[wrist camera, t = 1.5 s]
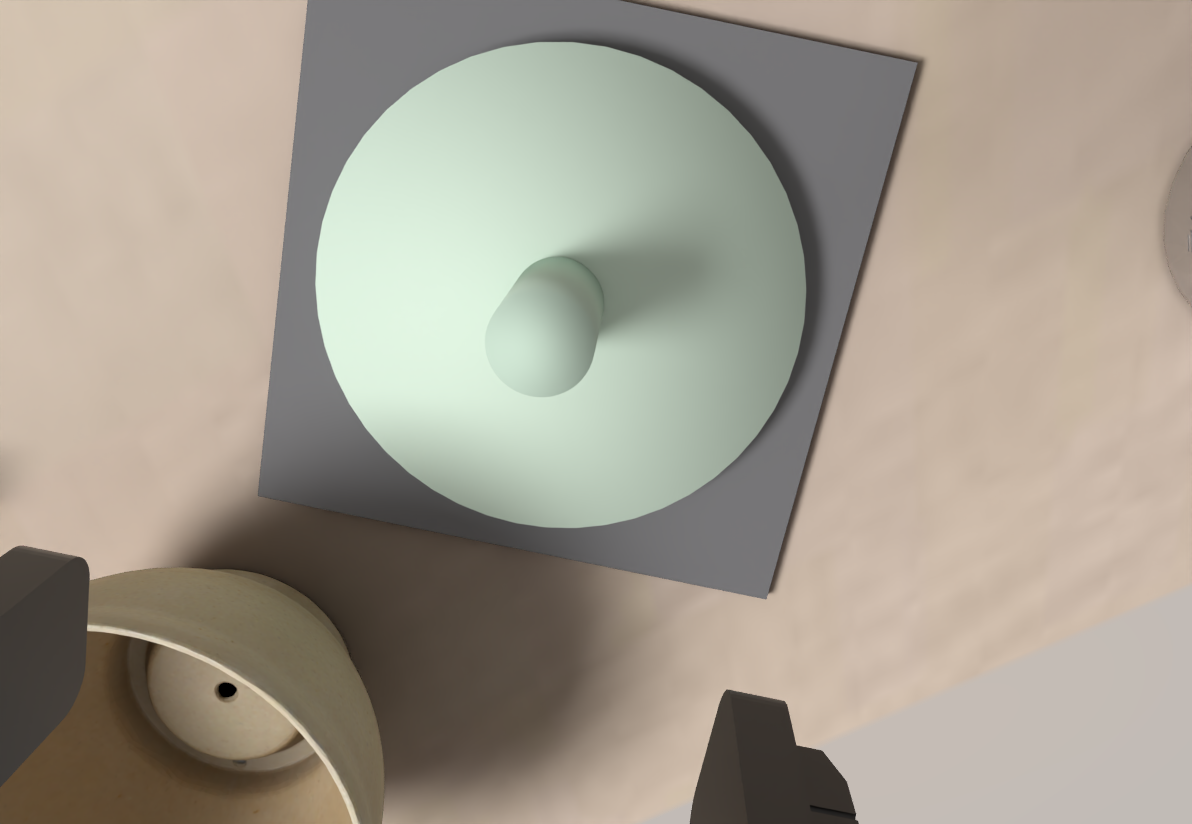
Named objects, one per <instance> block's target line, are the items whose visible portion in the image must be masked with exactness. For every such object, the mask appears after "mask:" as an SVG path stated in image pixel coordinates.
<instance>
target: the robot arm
mask: <svg viewBox="0 0 1192 824" xmlns="http://www.w3.org/2000/svg"><path fill="white" fill-rule="evenodd" d="M1164 245H1165V250H1166V256H1167V261H1168V267H1169V269H1170V271H1171V274H1172V276H1173V278H1174V280H1175V283H1176V285H1177V287H1178V289H1179V291H1180V293H1181V294H1182V295H1183V296H1184V298H1185V299H1186V300H1187V302H1188V303H1189V304H1190V305H1191V307H1192V147H1191V148H1190V150H1189V151H1188V152H1187V154H1186V156H1185V158H1184V160H1183V162H1182V164H1181V166H1180V168H1179V170H1178V172H1177V174H1176V176H1175V178H1174V181H1173V183H1172V187H1171V190H1170V194H1169V198H1168V202H1167V206H1166V210H1165V222H1164ZM89 580H90V578H89V567H88V564H87V562H86V561H85V560H84V559H83V558H81V557H77V556H72V555H67V554H62V553H57V552H52V551H47V550H42V549H37V548H32V547H27V546H17V547H15V548H13V549H11V550H10V551H8V552H7V553H6V554H4V555H3V556H1V557H0V787H1V786H2V785H3V784H4V783H5V782H6V781H7V780H8V779H9V777H10V776H11V775H12V774H13V773H14V772H15V771H16V770H17V769H18V768H19V767H20V766H21V765H22V763H23V762H24V761H25V760H26V759H27V758H28V757H29V756H30V755H31V754H32V753H33V752H34V751H35V749H36V748H37V747H38V746H39V745H40V744H41V743H42V742H43V741H44V740H45V739H46V738H47V737H48V735H49V734H50V733H51V732H52V731H53V730H54V729H55V728H56V727H57V726H58V725H59V724H60V722H61V721H62V720H63V719H64V718H65V717H66V715H67V714H68V713H69V711H70V710H71V708H72V706H73V704H74V702H75V700H76V698H77V696H78V693H79V691H80V688H81V685H82V682H83V678H84V673H85V665H86V645H87V623H88V601H89ZM855 816H856V813H855V809H854V805H853V802H852V798H851V795H850V792H849V788H848V785H847V782H846V780H845V779H844V778H843V776H842V775H841V774H840V773H839V771H838V770H837V769H836V768H835V766H834V765H833V764H832V762H831V761H830V760H829V759H828V757H827V756H826V755H825V754H824V752H823V751H821V750H816V749H812V748H807V747H802V746H797V745H796V742H795V738H794V733H793V729H792V724H791V720H790V715H789V711H788V707H787V704H786V702H785V701H781V700H777V699H772V698H767V697H762V696H757V695H752V694H747V693H742V692H737V691H732V690H726V691H725V692H724V694H723V696H722V698H721V701H720V704H719V707H718V711H717V714H716V718H715V722H714V725H713V729H712V732H711V736H710V740H709V743H708V747H707V750H706V754H705V758H704V761H703V765H702V769H701V772H700V776H699V779H698V783H697V787H696V791H695V795H694V799H693V805H692V810H691V818H690V824H859V823H858V821H857V820H855Z"/></svg>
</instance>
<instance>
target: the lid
mask: <svg viewBox="0 0 1192 824" xmlns="http://www.w3.org/2000/svg"><path fill="white" fill-rule="evenodd" d="M315 286H316V298H317V310H318V318H319V323H320V327H321V332H322V336H323V341H324V346H325V349H326V352H327V354H328V357H329V360H330V363H331V366H332V368H333V371H334V374H335V377H336V379H337V381H338V383H339V385H340V387H341V389H342V390H343V392H344V394H345V396H346V398H347V400H348V402H349V404H350V406H351V407H352V409H353V410H354V412H355V413H356V415H357V416H358V418H359V419H360V421H361V422H362V424H363V425H364V427H365V428H366V429H367V431H368V432H369V433H370V434H371V435H372V436H373V438H374V439H375V440H376V441H377V442H378V443H379V444H380V446H381V447H382V448H383V449H384V450H385V451H386V452H387V453H388V454H389V455H390V456H391V457H392V458H393V459H394V460H395V461H396V462H398V463H399V464H400V465H401V466H402V467H403V468H404V469H405V470H406V471H407V472H409V473H410V474H411V475H413V476H414V477H416V478H417V479H418V480H420V481H421V482H423V483H424V484H425V485H427V486H428V487H430V488H431V489H432V490H434V491H436V492H438V493H440V494H441V495H443V496H445V497H447V498H449V499H451V500H452V501H454V502H456V503H458V504H460V505H462V506H465V507H467V508H470V509H472V510H475V511H477V512H480V513H482V514H485V515H487V516H491V517H495V518H499V519H502V520H506V521H510V522H514V523H518V524H525V525H532V526H539V527H550V528H581V527H591V526H601V525H608V524H612V523H617V522H621V521H626V520H630V519H635V518H637V517H640V516H643V515H646V514H649V513H651V512H654V511H657V510H660V509H662V508H664V507H666V506H668V505H670V504H672V503H674V502H676V501H678V500H680V499H682V498H684V497H686V496H688V495H690V494H691V493H693V492H694V491H696V490H697V489H699V488H700V487H702V486H703V485H705V484H706V483H708V482H709V481H711V480H712V479H714V478H715V477H716V476H717V475H718V474H719V473H721V472H722V471H723V470H724V469H725V468H726V467H727V466H729V465H730V464H731V463H732V462H733V461H734V460H735V459H737V458H738V456H739V455H740V454H741V453H742V452H743V451H744V450H745V448H746V447H747V446H748V445H749V444H750V443H751V442H752V440H753V439H754V438H755V437H756V436H757V435H758V433H759V432H760V430H761V429H762V427H763V426H764V424H765V423H766V421H767V420H768V418H769V417H770V415H771V414H772V412H773V411H774V409H775V407H776V405H777V403H778V401H779V399H780V397H781V395H782V393H783V391H784V389H785V387H786V385H787V383H788V381H789V378H790V375H791V372H792V369H793V366H794V363H795V360H796V357H797V354H798V351H799V346H800V341H801V336H802V331H803V326H804V319H805V303H806V277H805V263H804V254H803V249H802V244H801V240H800V235H799V230H798V225H797V222H796V219H795V216H794V214H793V211H792V208H791V205H790V202H789V199H788V197H787V194H786V192H785V190H784V188H783V186H782V184H781V182H780V180H779V178H778V176H777V174H776V172H775V170H774V168H773V166H772V164H771V163H770V161H769V160H768V158H767V157H766V156H765V154H764V153H763V151H762V150H761V148H760V147H759V146H758V144H757V143H756V141H755V140H754V138H753V137H752V136H751V134H750V133H749V132H748V131H747V130H746V129H745V128H744V127H743V126H742V125H741V124H740V123H739V121H738V120H737V119H736V118H735V117H734V116H733V115H732V114H731V113H730V112H729V111H728V110H727V109H726V108H725V107H724V106H722V105H721V104H720V103H719V102H717V101H716V100H715V99H714V98H713V97H711V96H710V95H709V94H708V93H706V92H705V91H704V90H703V89H702V88H700V87H698V86H697V85H695V84H694V83H692V82H690V81H689V80H687V79H685V78H684V77H682V76H681V75H679V74H677V73H676V72H674V71H672V70H670V69H668V68H666V67H663V66H661V65H659V64H657V63H654V62H652V61H650V60H648V59H645V58H643V57H641V56H637V55H634V54H630V53H627V52H623V51H620V50H616V49H613V48H609V47H605V46H597V45H590V44H583V43H576V42H535V43H528V44H521V45H514V46H507V47H502V48H499V49H495V50H492V51H488V52H485V53H481V54H478V55H475V56H471V57H469V58H467V59H464V60H462V61H460V62H458V63H456V64H453V65H451V66H449V67H447V68H444V69H442V70H440V71H438V72H437V73H435V74H434V75H432V76H431V77H429V78H427V79H426V80H424V81H423V82H421V83H420V84H418V85H416V86H415V87H413V88H412V89H410V90H409V91H408V92H407V93H406V94H405V95H403V96H402V97H401V98H400V99H399V100H398V101H396V102H395V103H394V104H393V105H392V106H390V107H389V108H388V109H387V110H386V111H385V112H384V113H383V114H382V115H381V117H380V118H379V119H378V120H377V121H376V122H375V123H374V125H373V126H372V127H371V128H370V129H369V130H368V131H367V132H366V134H365V135H364V136H363V138H362V139H361V141H360V142H359V144H358V145H357V147H356V148H355V150H354V151H353V153H352V154H351V156H350V157H349V159H348V160H347V162H346V164H345V166H344V168H343V170H342V172H341V174H340V176H339V178H338V180H337V182H336V184H335V187H334V189H333V191H332V194H331V197H330V200H329V203H328V206H327V209H326V212H325V215H324V218H323V221H322V227H321V232H320V238H319V244H318V249H317V260H316V282H315Z"/></svg>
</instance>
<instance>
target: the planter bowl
mask: <svg viewBox="0 0 1192 824" xmlns="http://www.w3.org/2000/svg"><path fill="white" fill-rule="evenodd" d="M224 682H227V683H231V684H233V685H234V686H235V687H236V688H237V691H236V693H235V694H234V695H233V696H231V697H227V698H226V697H222V696H221V695H220V693H219V690H218V689H219V685H220V684H221V683H224ZM383 806H384V762H383V752H382V744H381V739H380V734H379V728H378V724H377V720H376V717H375V713H374V710H373V707H372V704H371V701H370V698H369V696H368V694H367V691H366V689H365V686H364V684H363V682H362V680H361V678H360V676H359V674H358V672H357V670H356V668H355V666H354V664H353V662H352V661H351V659H350V656H349V653H348V650H347V648H346V646H345V643H344V641H343V639H342V637H341V635H340V633H339V632H338V630H337V629H336V627H335V626H334V625H333V623H332V622H331V621H330V619H329V618H328V617H327V615H326V614H325V613H324V612H323V611H322V610H321V609H320V608H319V607H318V606H317V605H316V604H314V603H313V602H312V601H311V600H310V599H309V598H307V597H306V596H305V595H303V594H301V593H300V592H298V591H297V590H295V589H294V588H292V587H290V586H288V585H286V584H284V583H282V582H280V581H278V580H276V579H273V578H270V577H268V576H265V575H261V574H258V573H253V572H247V571H242V570H232V569H216V570H207V569H199V568H153V569H144V570H136V571H130V572H124V573H119V574H115V575H110V576H106V577H102V578H98V579H94V580H90V581H89V601H88V623H87V645H86V665H85V673H84V678H83V682H82V685H81V688H80V691H79V693H78V696H77V698H76V700H75V702H74V704H73V706H72V708H71V710H70V711H69V713H68V714H67V715H66V717H65V718H64V719H63V720H62V721H61V722H60V724H59V725H58V726H57V727H56V728H55V729H54V730H53V731H52V732H51V733H50V734H49V735H48V737H47V738H46V739H45V740H44V741H43V742H42V743H41V744H40V745H39V746H38V747H37V748H36V749H35V751H34V752H33V753H32V754H31V755H30V756H29V757H28V758H27V759H26V760H25V761H24V762H23V763H22V765H21V766H20V767H19V768H18V769H17V770H16V771H15V772H14V773H13V774H12V775H11V776H10V777H9V779H8V780H7V781H6V782H5V783H4V784H3V785H2V786H1V787H0V824H382V817H383Z"/></svg>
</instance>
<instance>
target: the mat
mask: <svg viewBox="0 0 1192 824" xmlns="http://www.w3.org/2000/svg"><path fill="white" fill-rule="evenodd" d="M535 42H576V43H583V44H590V45H597V46H605V47H609V48H613V49H616V50H620V51H623V52H627V53H630V54H634V55H637V56H641V57H643V58H645V59H648V60H650V61H652V62H654V63H657V64H659V65H661V66H663V67H666V68H668V69H670V70H672V71H674V72H676V73H677V74H679V75H681V76H682V77H684V78H685V79H687V80H689V81H690V82H692V83H694V84H695V85H697V86H698V87H700V88H702V89H703V90H704V91H705V92H706V93H708V94H709V95H710V96H711V97H713V98H714V99H715V100H716V101H717V102H719V103H720V104H721V105H722V106H724V107H725V108H726V109H727V110H728V111H729V112H730V113H731V114H732V115H733V116H734V117H735V118H736V119H737V120H738V121H739V123H740V124H741V125H742V126H743V127H744V128H745V129H746V130H747V131H748V132H749V133H750V134H751V136H752V137H753V138H754V140H755V141H756V143H757V144H758V146H759V147H760V148H761V150H762V151H763V153H764V154H765V156H766V157H767V158H768V160H769V161H770V163H771V164H772V166H773V168H774V170H775V172H776V174H777V176H778V178H779V180H780V182H781V184H782V186H783V188H784V190H785V192H786V194H787V197H788V199H789V202H790V205H791V208H792V211H793V214H794V216H795V219H796V222H797V225H798V230H799V235H800V240H801V244H802V249H803V254H804V263H805V277H806V303H805V319H804V326H803V331H802V336H801V341H800V346H799V351H798V354H797V357H796V360H795V363H794V366H793V369H792V372H791V375H790V378H789V381H788V383H787V385H786V387H785V389H784V391H783V393H782V395H781V397H780V399H779V401H778V403H777V405H776V407H775V409H774V411H773V412H772V414H771V415H770V417H769V418H768V420H767V421H766V423H765V424H764V426H763V427H762V429H761V430H760V432H759V433H758V435H757V436H756V437H755V438H754V439H753V440H752V442H751V443H750V444H749V445H748V446H747V447H746V448H745V450H744V451H743V452H742V453H741V454H740V455H739V456H738V458H737V459H735V460H734V461H733V462H732V463H731V464H730V465H729V466H727V467H726V468H725V469H724V470H723V471H722V472H721V473H719V474H718V475H717V476H716V477H715V478H714V479H712V480H711V481H709V482H708V483H706V484H705V485H703V486H702V487H700V488H699V489H697V490H696V491H694V492H693V493H691V494H690V495H688V496H686V497H684V498H682V499H680V500H678V501H676V502H674V503H672V504H670V505H668V506H666V507H664V508H662V509H660V510H657V511H654V512H651V513H649V514H646V515H643V516H640V517H637V518H635V519H630V520H626V521H621V522H617V523H612V524H608V525H601V526H591V527H581V528H550V527H539V526H532V525H525V524H518V523H514V522H510V521H506V520H502V519H499V518H495V517H491V516H487V515H485V514H482V513H480V512H477V511H475V510H472V509H470V508H467V507H465V506H462V505H460V504H458V503H456V502H454V501H452V500H451V499H449V498H447V497H445V496H443V495H441V494H440V493H438V492H436V491H434V490H432V489H431V488H430V487H428V486H427V485H425V484H424V483H423V482H421V481H420V480H418V479H417V478H416V477H414V476H413V475H411V474H410V473H409V472H407V471H406V470H405V469H404V468H403V467H402V466H401V465H400V464H399V463H398V462H396V461H395V460H394V459H393V458H392V457H391V456H390V455H389V454H388V453H387V452H386V451H385V450H384V449H383V448H382V447H381V446H380V444H379V443H378V442H377V441H376V440H375V439H374V438H373V436H372V435H371V434H370V433H369V432H368V431H367V429H366V428H365V427H364V425H363V424H362V422H361V421H360V419H359V418H358V416H357V415H356V413H355V412H354V410H353V409H352V407H351V406H350V404H349V402H348V400H347V398H346V396H345V394H344V392H343V390H342V389H341V387H340V385H339V383H338V381H337V379H336V377H335V374H334V371H333V368H332V366H331V363H330V360H329V357H328V354H327V352H326V349H325V346H324V341H323V336H322V332H321V327H320V323H319V318H318V310H317V298H316V286H315V282H316V260H317V249H318V244H319V238H320V232H321V227H322V221H323V218H324V215H325V212H326V209H327V206H328V203H329V200H330V197H331V194H332V191H333V189H334V187H335V184H336V182H337V180H338V178H339V176H340V174H341V172H342V170H343V168H344V166H345V164H346V162H347V160H348V159H349V157H350V156H351V154H352V153H353V151H354V150H355V148H356V147H357V145H358V144H359V142H360V141H361V139H362V138H363V136H364V135H365V134H366V132H367V131H368V130H369V129H370V128H371V127H372V126H373V125H374V123H375V122H376V121H377V120H378V119H379V118H380V117H381V115H382V114H383V113H384V112H385V111H386V110H387V109H388V108H389V107H390V106H392V105H393V104H394V103H395V102H396V101H398V100H399V99H400V98H401V97H402V96H403V95H405V94H406V93H407V92H408V91H409V90H410V89H412V88H413V87H415V86H416V85H418V84H420V83H421V82H423V81H424V80H426V79H427V78H429V77H431V76H432V75H434V74H435V73H437V72H438V71H440V70H442V69H444V68H447V67H449V66H451V65H453V64H456V63H458V62H460V61H462V60H464V59H467V58H469V57H471V56H475V55H478V54H481V53H485V52H488V51H492V50H495V49H499V48H502V47H507V46H514V45H521V44H528V43H535ZM916 67H917V63H916V62H911V61H907V60H902V59H897V58H892V57H887V56H883V55H878V54H873V53H868V52H864V51H859V50H854V49H849V48H845V47H840V46H835V45H830V44H825V43H821V42H816V41H811V40H806V39H802V38H797V37H792V36H787V35H783V34H778V33H773V32H768V31H764V30H759V29H754V28H749V27H744V26H740V25H735V24H730V23H725V22H721V21H716V20H711V19H706V18H702V17H697V16H692V15H687V14H682V13H678V12H673V11H668V10H663V9H659V8H654V7H649V6H644V5H640V4H635V3H630V2H625V1H620V0H308V4H307V14H306V24H305V34H304V44H303V53H302V63H301V73H300V83H299V93H298V103H297V113H296V123H295V133H294V143H293V153H292V163H291V172H290V182H289V192H288V202H287V212H286V222H285V232H284V242H283V252H282V262H281V272H280V282H279V291H278V301H277V311H276V321H275V331H274V341H273V351H272V361H271V371H270V381H269V391H268V400H267V410H266V420H265V430H264V440H263V450H262V460H261V470H260V480H259V490H258V496H260V497H265V498H270V499H275V500H280V501H285V502H290V503H295V504H300V505H304V506H309V507H314V508H319V509H324V510H329V511H334V512H339V513H344V514H349V515H354V516H359V517H363V518H368V519H373V520H378V521H383V522H388V523H393V524H398V525H403V526H408V527H413V528H418V529H423V530H427V531H432V532H437V533H442V534H447V535H452V536H457V537H462V538H467V539H472V540H477V541H482V542H487V543H491V544H496V545H501V546H506V547H511V548H516V549H521V550H526V551H531V552H536V553H541V554H546V555H551V556H555V557H560V558H565V559H570V560H575V561H580V562H585V563H590V564H595V565H600V566H605V567H610V568H615V569H619V570H624V571H629V572H634V573H639V574H644V575H649V576H654V577H659V578H664V579H669V580H674V581H679V582H683V583H688V584H693V585H698V586H703V587H708V588H713V589H718V590H723V591H728V592H733V593H738V594H743V595H747V596H752V597H757V598H762V599H767V595H768V592H769V588H770V585H771V581H772V578H773V574H774V571H775V567H776V563H777V560H778V556H779V553H780V549H781V546H782V542H783V539H784V535H785V532H786V528H787V524H788V521H789V517H790V514H791V510H792V507H793V503H794V500H795V496H796V493H797V489H798V485H799V482H800V478H801V475H802V471H803V468H804V464H805V461H806V457H807V453H808V450H809V446H810V443H811V439H812V436H813V432H814V429H815V425H816V422H817V418H818V414H819V411H820V407H821V404H822V400H823V397H824V393H825V390H826V386H827V383H828V379H829V375H830V372H831V368H832V365H833V361H834V358H835V354H836V351H837V347H838V343H839V340H840V336H841V333H842V329H843V326H844V322H845V319H846V315H847V312H848V308H849V304H850V301H851V297H852V294H853V290H854V287H855V283H856V280H857V276H858V273H859V269H860V265H861V262H862V258H863V255H864V251H865V248H866V244H867V241H868V237H869V233H870V230H871V226H872V223H873V219H874V216H875V212H876V209H877V205H878V202H879V198H880V194H881V191H882V187H883V184H884V180H885V177H886V173H887V170H888V166H889V163H890V159H891V155H892V152H893V148H894V145H895V141H896V138H897V134H898V131H899V127H900V123H901V120H902V116H903V113H904V109H905V106H906V102H907V99H908V95H909V92H910V88H911V84H912V81H913V77H914V74H915V70H916Z"/></svg>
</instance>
